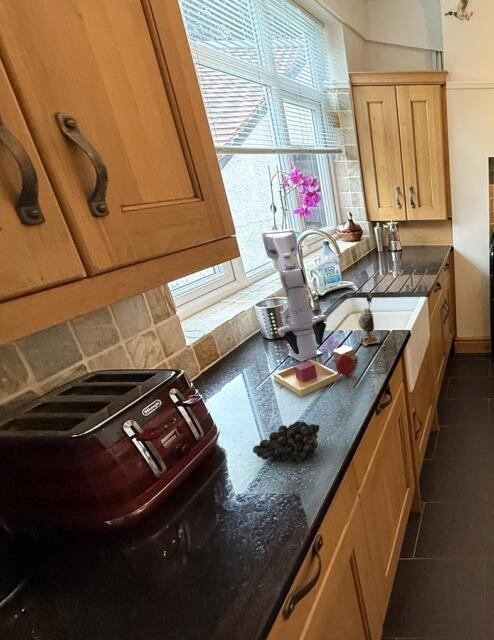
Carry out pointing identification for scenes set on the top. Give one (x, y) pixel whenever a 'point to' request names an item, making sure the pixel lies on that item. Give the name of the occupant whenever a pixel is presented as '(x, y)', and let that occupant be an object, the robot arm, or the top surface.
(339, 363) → the onion
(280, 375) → the tray
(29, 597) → the top surface
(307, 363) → the mulberry block
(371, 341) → the grey figurine
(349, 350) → the ash block
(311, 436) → the fruit
